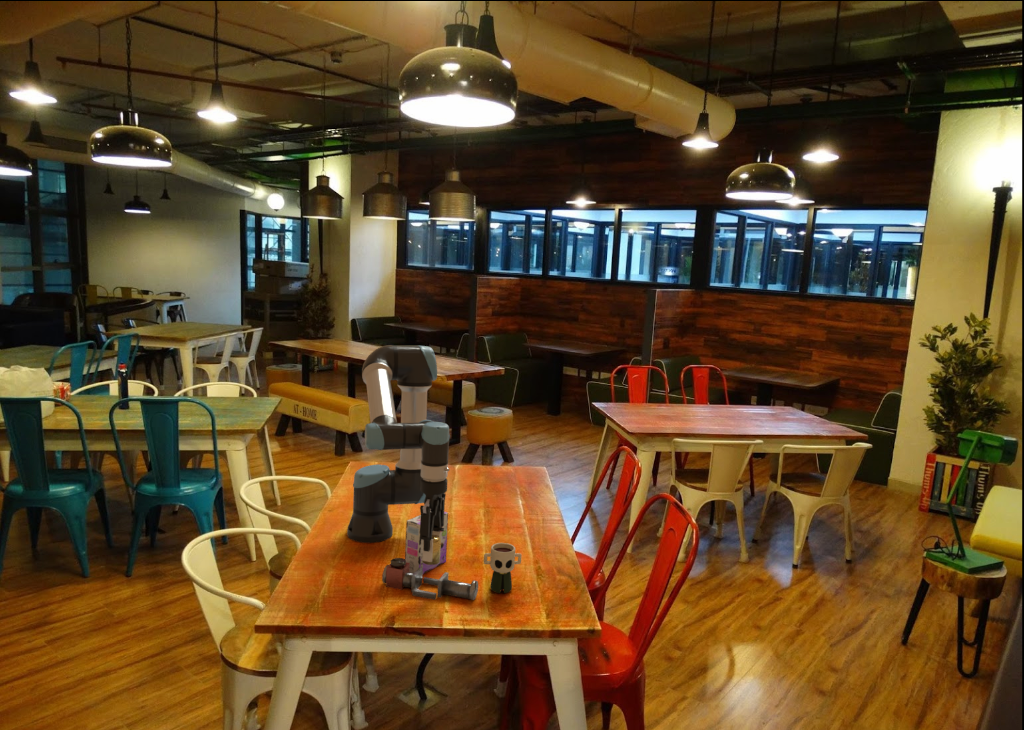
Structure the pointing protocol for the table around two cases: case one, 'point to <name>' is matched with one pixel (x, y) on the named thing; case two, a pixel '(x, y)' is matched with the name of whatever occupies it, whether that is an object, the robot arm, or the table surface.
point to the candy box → (416, 545)
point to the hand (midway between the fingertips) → (431, 556)
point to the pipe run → (400, 577)
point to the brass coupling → (435, 551)
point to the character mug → (502, 566)
